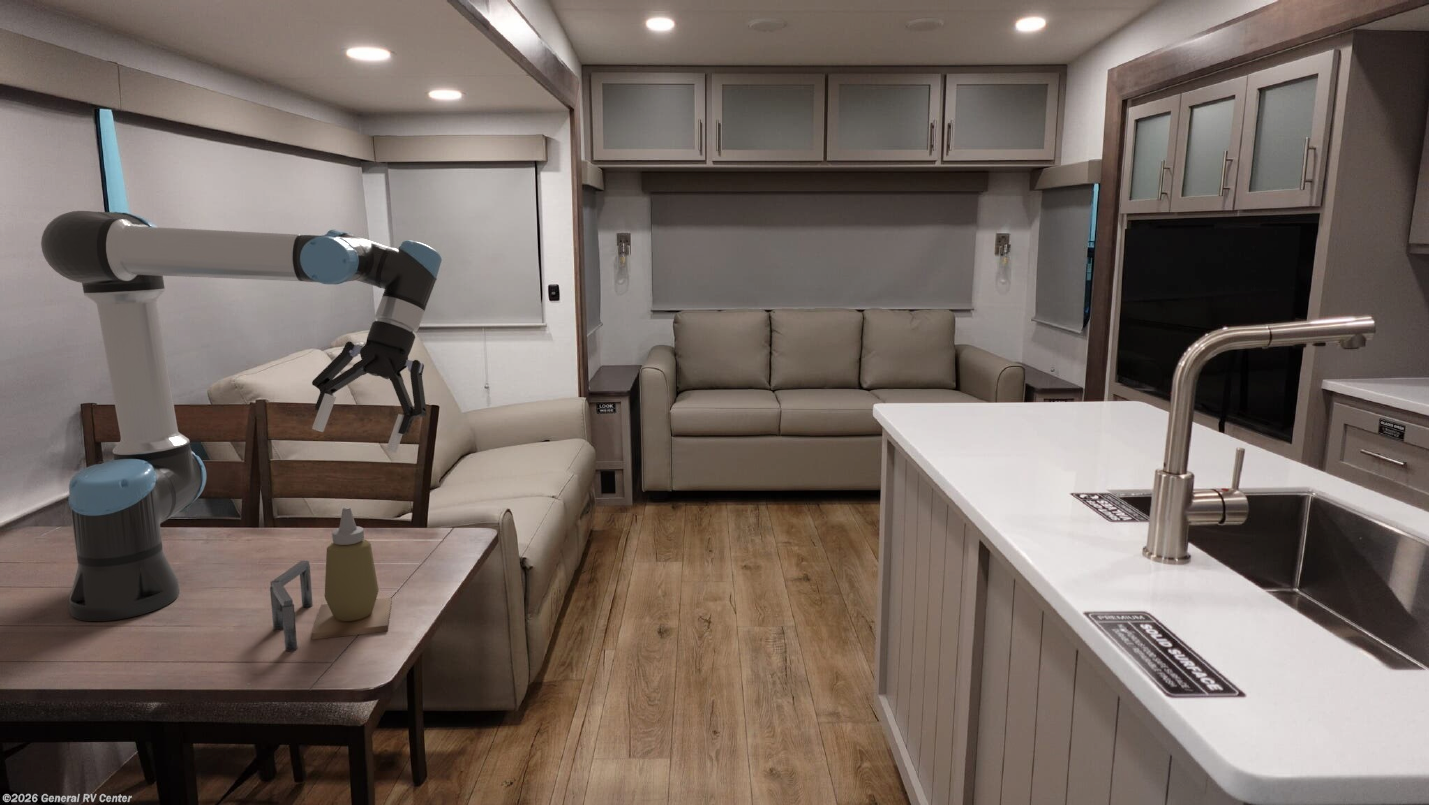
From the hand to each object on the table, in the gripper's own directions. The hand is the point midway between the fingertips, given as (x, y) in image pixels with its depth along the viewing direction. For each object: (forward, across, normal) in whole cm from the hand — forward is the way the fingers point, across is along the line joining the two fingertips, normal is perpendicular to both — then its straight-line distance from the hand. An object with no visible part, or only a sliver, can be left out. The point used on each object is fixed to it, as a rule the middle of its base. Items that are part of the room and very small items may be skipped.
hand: (354, 441), depth 145 cm
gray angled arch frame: (+31, -3, +6) cm, 32 cm away
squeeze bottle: (+27, -11, +3) cm, 30 cm away
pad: (+28, -12, +3) cm, 30 cm away
